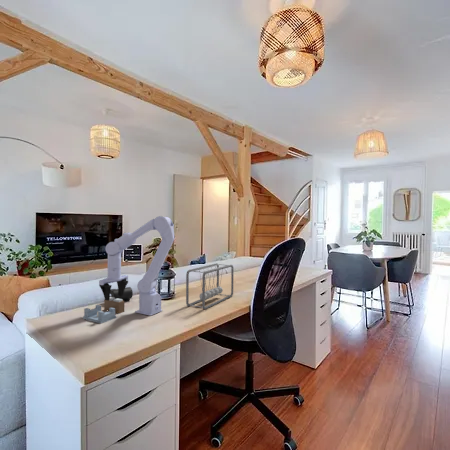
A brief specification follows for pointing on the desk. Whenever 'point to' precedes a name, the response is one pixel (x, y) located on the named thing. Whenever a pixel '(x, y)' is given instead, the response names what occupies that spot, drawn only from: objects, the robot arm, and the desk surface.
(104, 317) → the display stand
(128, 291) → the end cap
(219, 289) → the newton's cradle
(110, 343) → the desk surface
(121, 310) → the tan brown bar
